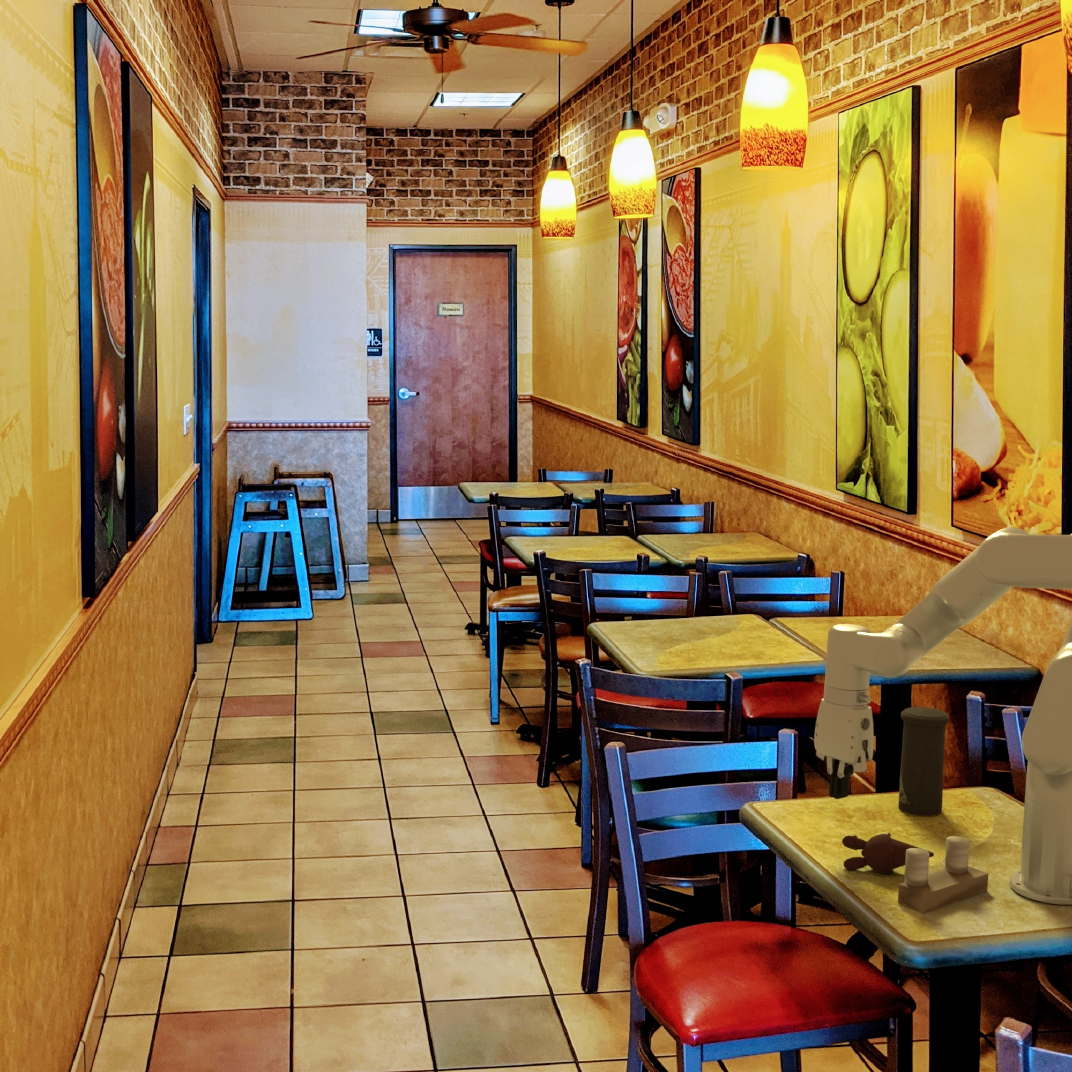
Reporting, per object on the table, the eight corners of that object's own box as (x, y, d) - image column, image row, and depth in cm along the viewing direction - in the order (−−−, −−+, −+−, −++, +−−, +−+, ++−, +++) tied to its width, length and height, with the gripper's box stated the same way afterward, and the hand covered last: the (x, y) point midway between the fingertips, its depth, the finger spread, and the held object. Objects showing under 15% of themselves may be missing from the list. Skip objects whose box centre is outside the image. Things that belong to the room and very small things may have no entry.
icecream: (931, 831, 223) (841, 830, 227) (933, 834, 216) (841, 834, 219) (933, 872, 222) (843, 871, 226) (936, 877, 215) (843, 876, 218)
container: (919, 799, 259) (924, 701, 256) (953, 813, 251) (959, 712, 249) (886, 806, 255) (891, 706, 252) (921, 820, 247) (926, 717, 244)
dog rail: (987, 890, 213) (990, 844, 212) (923, 912, 204) (925, 863, 203) (957, 879, 218) (960, 833, 217) (893, 900, 209) (896, 852, 208)
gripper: (894, 703, 223) (885, 806, 225) (828, 683, 235) (821, 781, 238) (864, 708, 219) (856, 813, 221) (799, 688, 231) (792, 787, 233)
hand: (838, 796), depth 229 cm, fingers closed
